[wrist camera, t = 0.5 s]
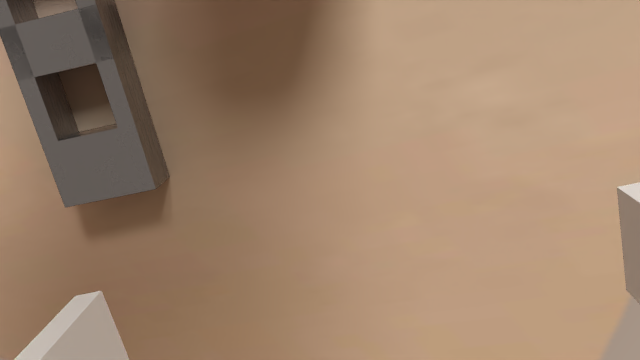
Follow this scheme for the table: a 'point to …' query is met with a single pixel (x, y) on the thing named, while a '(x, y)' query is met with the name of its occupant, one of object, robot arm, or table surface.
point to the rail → (53, 108)
